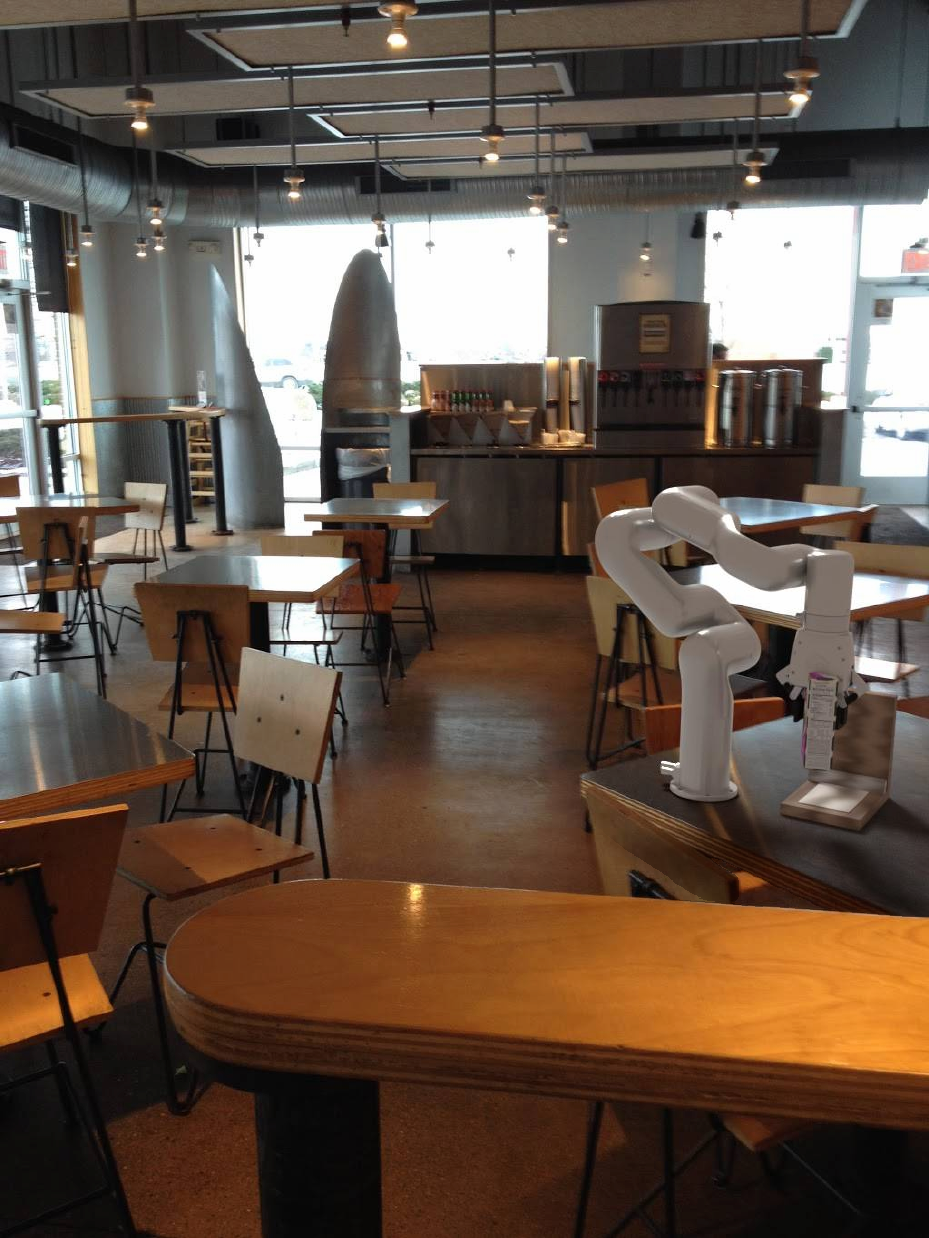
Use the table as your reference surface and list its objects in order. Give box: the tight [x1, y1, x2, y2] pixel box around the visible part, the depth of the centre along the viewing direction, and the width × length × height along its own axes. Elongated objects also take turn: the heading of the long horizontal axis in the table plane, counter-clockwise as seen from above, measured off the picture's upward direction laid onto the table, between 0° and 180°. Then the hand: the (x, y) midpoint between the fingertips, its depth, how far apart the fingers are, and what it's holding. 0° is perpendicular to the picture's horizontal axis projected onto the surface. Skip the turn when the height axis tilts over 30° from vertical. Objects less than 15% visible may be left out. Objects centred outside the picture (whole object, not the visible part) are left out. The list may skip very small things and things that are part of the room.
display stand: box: [779, 687, 899, 832], centre depth 202 cm, size 14×20×20 cm
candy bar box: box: [800, 673, 839, 771], centre depth 191 cm, size 11×5×16 cm, turn 166°
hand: (818, 723), depth 192 cm, fingers closed on candy bar box, 6 cm apart
